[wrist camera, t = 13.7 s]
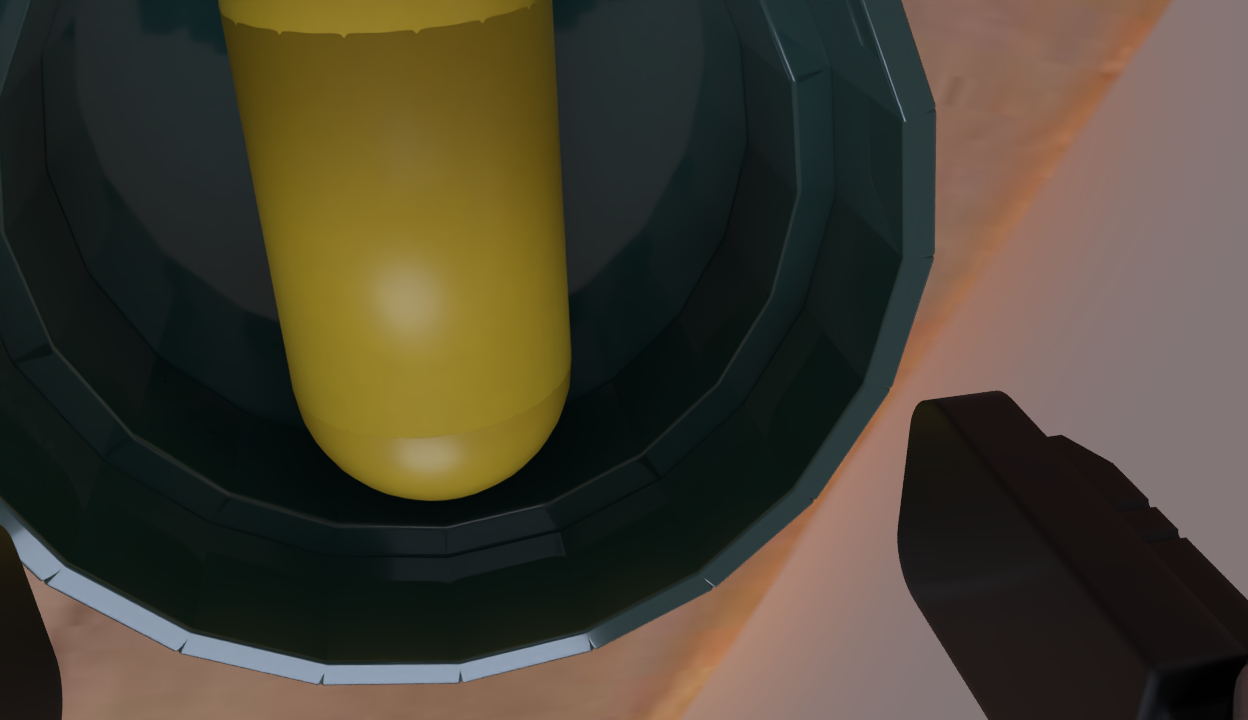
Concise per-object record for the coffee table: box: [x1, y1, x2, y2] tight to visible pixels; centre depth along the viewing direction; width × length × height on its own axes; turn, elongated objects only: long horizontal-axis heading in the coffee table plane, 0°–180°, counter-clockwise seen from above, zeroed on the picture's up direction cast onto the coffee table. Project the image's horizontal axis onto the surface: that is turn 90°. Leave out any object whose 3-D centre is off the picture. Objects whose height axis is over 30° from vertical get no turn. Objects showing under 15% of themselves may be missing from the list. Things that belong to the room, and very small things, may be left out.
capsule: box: [218, 0, 572, 501], centre depth 18 cm, size 11×5×5 cm
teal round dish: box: [0, 0, 936, 685], centre depth 18 cm, size 14×14×6 cm
